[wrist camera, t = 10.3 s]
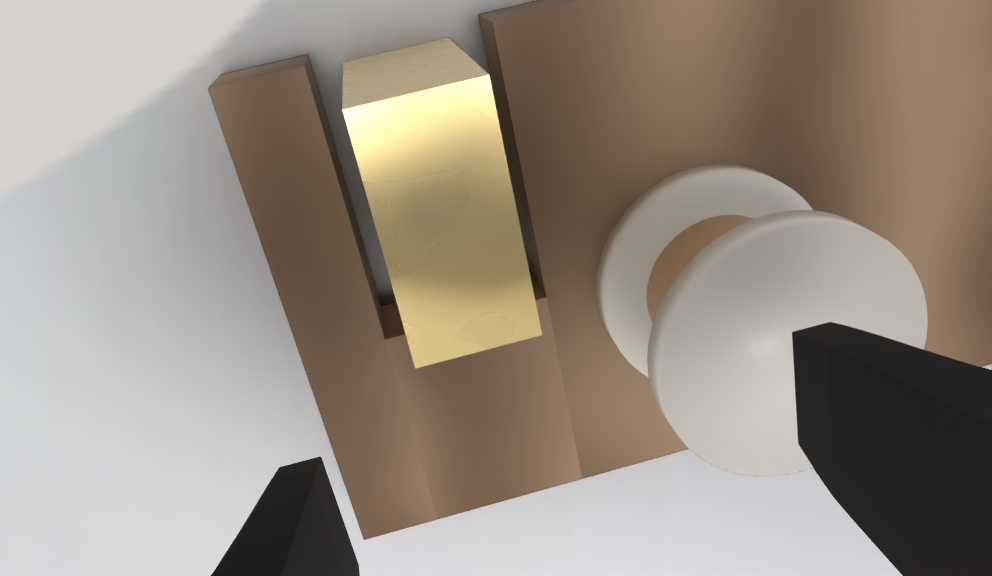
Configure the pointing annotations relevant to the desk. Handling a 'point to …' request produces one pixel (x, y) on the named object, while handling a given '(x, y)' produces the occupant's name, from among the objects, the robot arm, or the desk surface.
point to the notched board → (617, 216)
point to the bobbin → (742, 305)
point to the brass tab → (440, 198)
